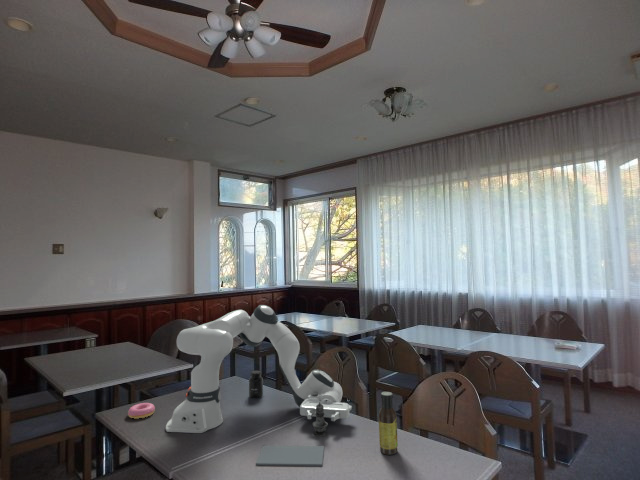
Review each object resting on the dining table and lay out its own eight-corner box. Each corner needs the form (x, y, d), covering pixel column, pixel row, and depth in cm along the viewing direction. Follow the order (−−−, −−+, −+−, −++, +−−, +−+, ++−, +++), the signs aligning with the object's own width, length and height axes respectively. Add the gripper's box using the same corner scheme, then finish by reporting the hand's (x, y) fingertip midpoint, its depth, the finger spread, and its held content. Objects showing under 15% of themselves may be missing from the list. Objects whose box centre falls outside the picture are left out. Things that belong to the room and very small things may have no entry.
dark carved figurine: (312, 430, 154) (311, 399, 154) (327, 429, 154) (326, 398, 155) (313, 437, 148) (312, 405, 149) (328, 436, 149) (328, 404, 149)
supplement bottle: (251, 400, 187) (251, 374, 187) (247, 395, 193) (246, 371, 193) (265, 397, 190) (264, 372, 190) (260, 393, 196) (260, 368, 196)
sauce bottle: (400, 454, 134) (399, 396, 135) (383, 457, 133) (382, 397, 134) (393, 445, 141) (391, 389, 141) (376, 447, 139) (375, 391, 140)
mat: (255, 465, 129) (255, 463, 129) (263, 447, 141) (263, 445, 141) (322, 466, 128) (322, 464, 128) (324, 447, 140) (324, 446, 140)
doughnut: (137, 422, 165) (137, 412, 165) (122, 417, 170) (122, 407, 171) (160, 413, 174) (160, 403, 174) (145, 408, 180) (145, 399, 180)
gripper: (352, 413, 163) (347, 428, 150) (305, 409, 168) (296, 424, 154) (352, 397, 163) (347, 412, 150) (304, 394, 168) (295, 408, 154)
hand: (321, 418), depth 152 cm, fingers open, 8 cm apart
